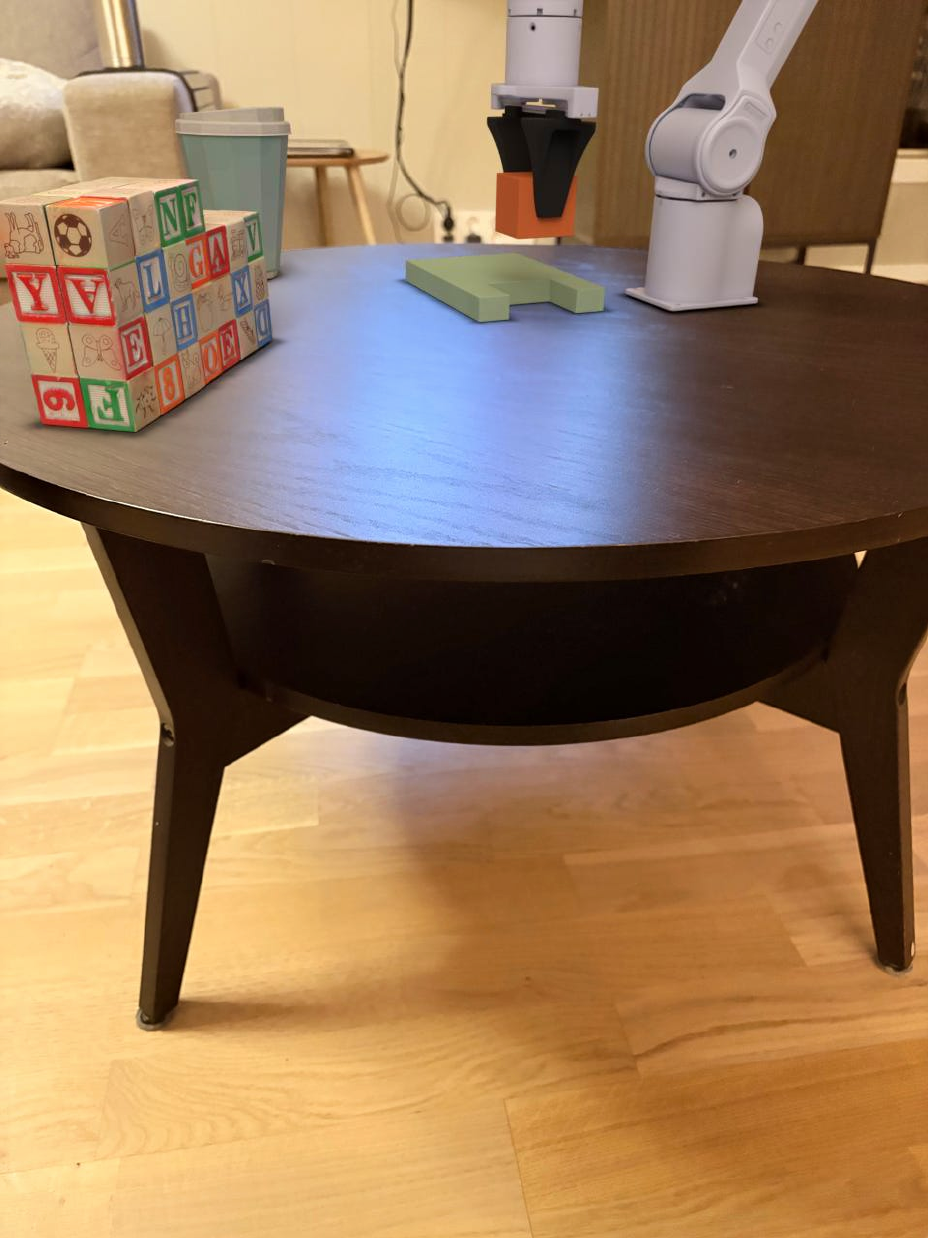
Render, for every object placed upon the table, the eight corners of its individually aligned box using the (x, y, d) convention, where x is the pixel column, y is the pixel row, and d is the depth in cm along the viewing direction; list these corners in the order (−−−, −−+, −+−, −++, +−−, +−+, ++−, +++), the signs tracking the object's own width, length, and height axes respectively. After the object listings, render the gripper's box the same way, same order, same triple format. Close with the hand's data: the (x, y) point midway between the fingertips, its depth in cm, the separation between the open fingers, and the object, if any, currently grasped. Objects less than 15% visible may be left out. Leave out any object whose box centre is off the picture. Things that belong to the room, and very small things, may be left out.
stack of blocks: (199, 335, 73) (176, 161, 66) (274, 340, 72) (258, 164, 65) (39, 425, 55) (-13, 197, 48) (137, 433, 54) (96, 202, 47)
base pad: (515, 273, 96) (516, 252, 95) (603, 310, 82) (605, 287, 81) (405, 281, 92) (405, 259, 91) (479, 322, 78) (479, 297, 77)
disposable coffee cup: (171, 280, 91) (145, 105, 83) (231, 262, 99) (213, 101, 92) (266, 290, 88) (249, 108, 80) (320, 269, 96) (309, 104, 88)
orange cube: (549, 228, 81) (552, 170, 78) (573, 235, 77) (577, 176, 75) (494, 231, 79) (496, 172, 76) (517, 239, 75) (519, 178, 73)
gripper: (458, 19, 74) (457, 203, 81) (541, 13, 63) (531, 227, 70) (536, 21, 77) (529, 200, 84) (630, 16, 65) (612, 223, 72)
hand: (535, 212), depth 77 cm, fingers closed on orange cube, 4 cm apart
